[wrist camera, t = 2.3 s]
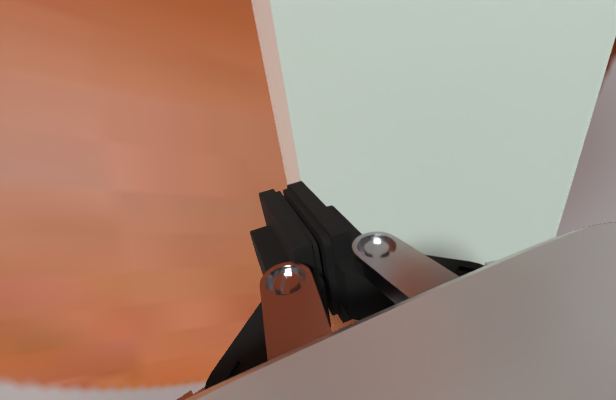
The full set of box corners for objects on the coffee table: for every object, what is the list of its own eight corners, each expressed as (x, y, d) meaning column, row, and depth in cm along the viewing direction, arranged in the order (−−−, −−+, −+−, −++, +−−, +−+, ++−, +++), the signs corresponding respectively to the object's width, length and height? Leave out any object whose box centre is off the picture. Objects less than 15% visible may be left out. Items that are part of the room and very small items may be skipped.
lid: (656, -134, 9) (670, -146, 8) (532, 297, 18) (533, 310, 17) (276, -23, 16) (265, -25, 15) (319, 249, 24) (313, 256, 24)
